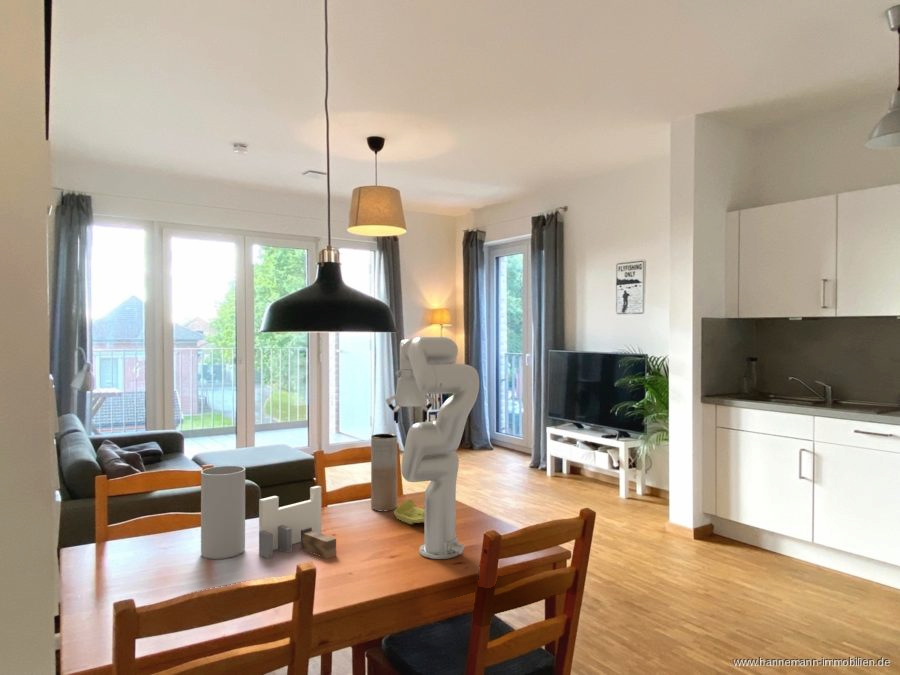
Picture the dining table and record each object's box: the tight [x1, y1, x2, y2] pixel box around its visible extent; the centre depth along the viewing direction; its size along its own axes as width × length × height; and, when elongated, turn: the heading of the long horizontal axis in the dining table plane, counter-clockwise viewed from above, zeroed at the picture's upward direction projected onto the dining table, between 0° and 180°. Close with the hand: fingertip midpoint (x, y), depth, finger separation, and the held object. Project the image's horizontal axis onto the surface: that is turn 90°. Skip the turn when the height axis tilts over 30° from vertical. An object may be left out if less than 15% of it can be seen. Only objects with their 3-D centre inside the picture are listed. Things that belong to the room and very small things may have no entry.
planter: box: [370, 433, 398, 512], centre depth 224 cm, size 10×10×28 cm
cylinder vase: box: [200, 465, 246, 560], centre depth 177 cm, size 12×12×25 cm
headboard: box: [258, 485, 322, 559], centre depth 183 cm, size 7×23×16 cm, turn 140°
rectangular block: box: [300, 527, 337, 559], centre depth 177 cm, size 13×4×6 cm, turn 50°
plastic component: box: [393, 498, 424, 525], centre depth 206 cm, size 20×7×10 cm
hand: (410, 422), depth 206 cm, fingers open, 9 cm apart
